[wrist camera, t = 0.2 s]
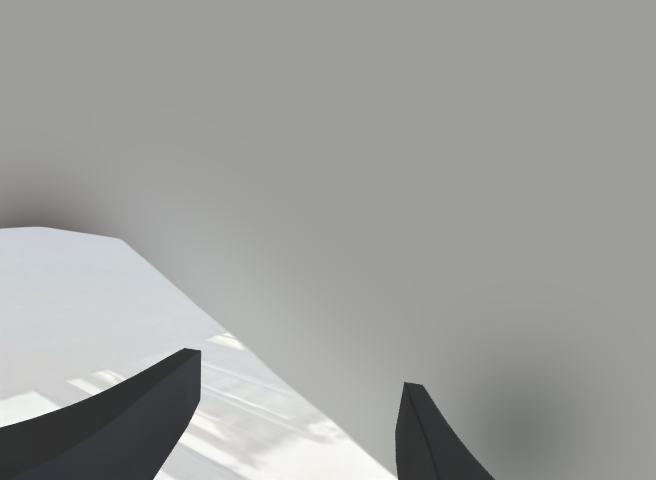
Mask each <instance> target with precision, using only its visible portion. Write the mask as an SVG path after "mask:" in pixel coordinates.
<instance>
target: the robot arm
mask: <svg viewBox="0 0 656 480" xmlns="http://www.w3.org/2000/svg"><path fill="white" fill-rule="evenodd" d="M200 392H201V351H200V350H194V349H187V348H184V349H182V350H180V351H178V352H176V353H174V354H172V355H171V356H169V357H167V358H165V359H164V360H162V361H160V362H158V363H157V364H155V365H153V366H151V367H149V368H148V369H146V370H144V371H142V372H140V373H139V374H137V375H135V376H133V377H131V378H129V379H127V380H125V381H123V382H121V383H119V384H117V385H115V386H113V387H111V388H109V389H107V390H105V391H103V392H101V393H99V394H97V395H94V396H92V397H90V398H87V399H85V400H82V401H80V402H78V403H75V404H73V405H70V406H67V407H65V408H62V409H59V410H56V411H53V412H50V413H47V414H44V415H42V416H39V417H36V418H32V419H29V420H26V421H22V422H19V423H16V424H12V425H8V426H4V427H1V428H0V480H153V479H154V477H155V476H156V474H157V473H158V471H159V470H160V468H161V467H162V465H163V464H164V462H165V460H166V459H167V457H168V456H169V454H170V453H171V451H172V450H173V448H174V447H175V445H176V444H177V442H178V440H179V439H180V437H181V436H182V434H183V433H184V431H185V429H186V428H187V426H188V424H189V422H190V420H191V418H192V416H193V414H194V412H195V410H196V408H197V406H198V403H199V401H200ZM395 434H396V435H395V440H396V465H397V473H398V480H495V479H494V478H493V477H492V476H491V475H490V474H489V473H488V472H487V471H486V470H485V469H484V468H483V466H481V464H480V463H479V462H478V461H477V460H476V459H475V458H474V456H473V455H472V454H471V453H470V452H469V451H468V449H467V448H466V447H465V446H464V444H463V443H462V442H461V441H460V439H459V438H458V437H457V435H456V434H455V433H454V431H453V430H452V428H451V427H450V426H449V424H448V423H447V421H446V420H445V419H444V417H443V416H442V414H441V413H440V411H439V409H438V408H437V406H436V405H435V403H434V402H433V400H432V399H431V397H430V396H429V394H428V392H427V391H426V389H425V388H424V386H423V385H420V384H413V383H407V382H404V387H403V393H402V398H401V404H400V409H399V415H398V420H397V425H396V431H395Z"/></svg>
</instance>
